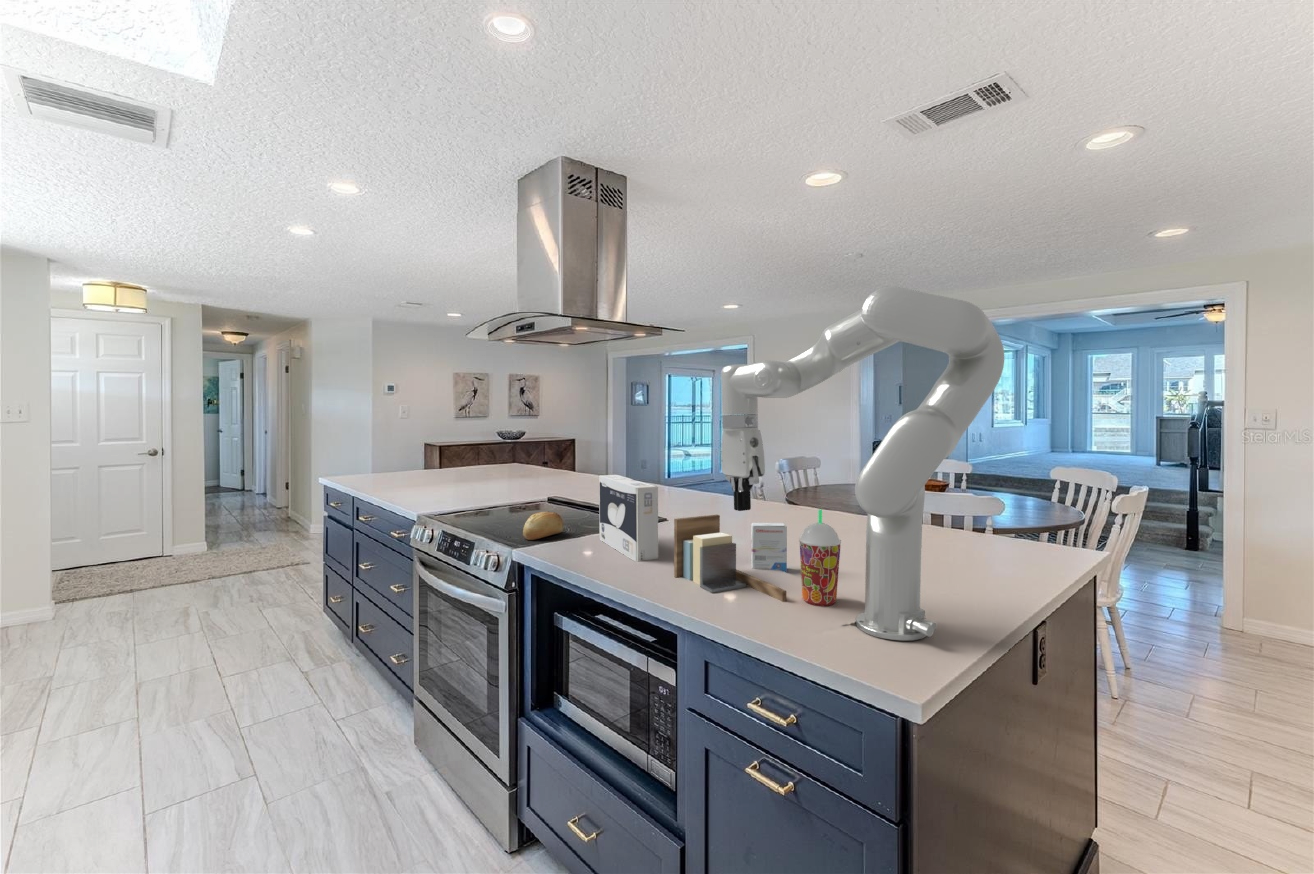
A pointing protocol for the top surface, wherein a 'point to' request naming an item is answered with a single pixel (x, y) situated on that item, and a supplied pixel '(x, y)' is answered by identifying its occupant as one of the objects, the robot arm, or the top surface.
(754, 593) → the top surface
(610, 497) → the packaging
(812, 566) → the smoothie
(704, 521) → the shelf
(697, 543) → the tan book
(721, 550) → the bookend
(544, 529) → the bread roll
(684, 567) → the teal book
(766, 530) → the ink box
